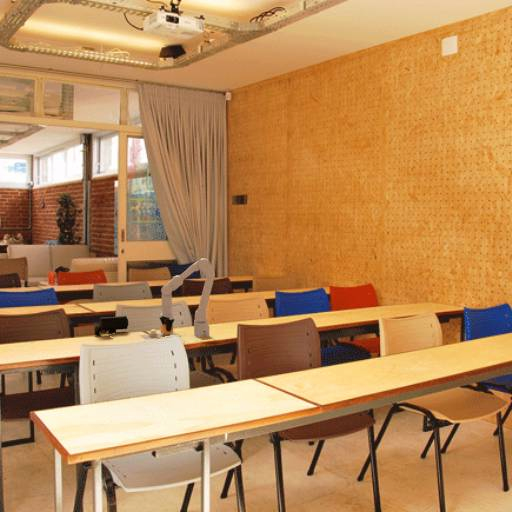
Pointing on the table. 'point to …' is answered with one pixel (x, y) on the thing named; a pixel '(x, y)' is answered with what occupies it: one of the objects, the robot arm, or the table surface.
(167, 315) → the robot arm
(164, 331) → the orange block
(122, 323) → the security camera
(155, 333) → the button
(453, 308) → the table surface
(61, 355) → the table surface
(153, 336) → the breaker panel
